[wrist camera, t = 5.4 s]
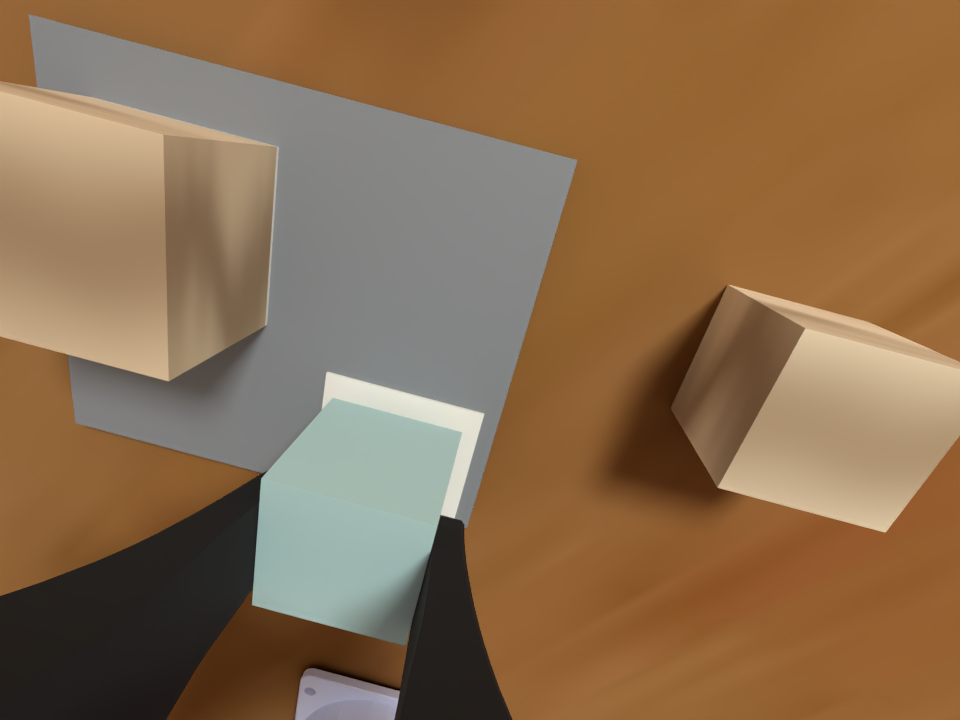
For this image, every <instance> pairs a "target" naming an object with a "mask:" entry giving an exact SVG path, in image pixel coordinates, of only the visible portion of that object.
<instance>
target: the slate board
mask: <svg viewBox="0 0 960 720" xmlns="http://www.w3.org/2000/svg"><path fill="white" fill-rule="evenodd" d="M29 20H30V28H31V37H32V46H33V55H34V64H35V72H36V81H37V88H42V89H47V90H53V91H59V92H65V93H70V94H76V95H82V96H88V97H92V98H96V99H99V100H103V101H107V102H111V103H114V104H118V105H122V106H126V107H129V108H133V109H137V110H141V111H144V112H148V113H152V114H156V115H159V116H163V117H167V118H171V119H174V120H178V121H182V122H186V123H189V124H193V125H197V126H201V127H205V128H208V129H212V130H216V131H220V132H223V133H227V134H231V135H235V136H238V137H242V138H246V139H250V140H253V141H257V142H261V143H265V144H268V145H272V146H276V147H277V154H276V169H275V185H274V200H273V215H272V230H271V245H270V261H269V276H268V291H267V306H266V321H265V326H264V327H263V328H261V329H259V330H257V331H256V332H254V333H252V334H250V335H249V336H247V337H245V338H243V339H242V340H240V341H238V342H237V343H235V344H233V345H231V346H230V347H228V348H226V349H224V350H223V351H221V352H219V353H217V354H216V355H214V356H212V357H210V358H209V359H207V360H205V361H203V362H202V363H200V364H198V365H196V366H195V367H193V368H191V369H189V370H188V371H186V372H184V373H182V374H181V375H179V376H177V377H176V378H174V379H172V380H170V381H165V380H162V379H158V378H154V377H150V376H147V375H143V374H139V373H135V372H132V371H128V370H124V369H120V368H117V367H113V366H109V365H106V364H102V363H98V362H94V361H91V360H87V359H83V358H79V357H76V356H72V355H68V362H69V370H70V379H71V388H72V397H73V406H74V414H75V423H77V424H81V425H84V426H88V427H92V428H95V429H99V430H103V431H107V432H110V433H114V434H118V435H122V436H125V437H129V438H133V439H137V440H140V441H144V442H148V443H151V444H155V445H159V446H163V447H166V448H170V449H174V450H178V451H181V452H185V453H189V454H193V455H196V456H200V457H204V458H208V459H211V460H215V461H219V462H222V463H226V464H230V465H234V466H237V467H241V468H245V469H249V470H252V471H256V472H260V473H264V472H266V471H267V470H269V469H270V468H271V467H272V466H273V465H274V464H275V462H276V461H277V460H278V459H279V458H280V457H281V456H282V455H283V453H284V452H285V451H286V450H287V449H288V448H289V447H290V445H291V444H292V443H293V442H294V441H295V440H296V439H297V438H298V436H299V435H300V434H301V433H302V432H303V431H304V430H305V429H306V427H307V426H308V425H309V424H310V423H311V422H312V421H313V420H314V418H315V417H316V416H317V415H318V414H319V413H320V412H321V411H322V409H323V408H324V407H325V406H326V405H327V404H328V403H329V401H330V400H331V399H332V398H336V399H340V400H343V401H347V402H351V403H355V404H358V405H362V406H366V407H370V408H373V409H377V410H381V411H385V412H388V413H392V414H396V415H399V416H403V417H407V418H411V419H414V420H418V421H422V422H426V423H429V424H433V425H437V426H441V427H444V428H448V429H452V430H456V431H459V432H462V435H461V439H460V443H459V447H458V450H457V454H456V458H455V462H454V466H453V469H452V473H451V477H450V481H449V485H448V488H447V492H446V496H445V500H444V503H443V507H442V511H441V515H443V516H447V517H451V518H454V519H458V520H462V522H463V523H464V525H465V526H464V527H465V528H467V526H468V523H469V519H470V516H471V513H472V509H473V506H474V503H475V499H476V496H477V493H478V489H479V486H480V483H481V479H482V476H483V473H484V469H485V466H486V463H487V459H488V456H489V453H490V449H491V446H492V443H493V439H494V436H495V433H496V429H497V426H498V423H499V420H500V416H501V413H502V410H503V406H504V403H505V400H506V396H507V393H508V390H509V386H510V383H511V380H512V376H513V373H514V370H515V366H516V363H517V360H518V356H519V353H520V350H521V346H522V343H523V340H524V336H525V333H526V330H527V326H528V323H529V320H530V316H531V313H532V310H533V306H534V303H535V300H536V297H537V293H538V290H539V287H540V283H541V280H542V277H543V273H544V270H545V267H546V263H547V260H548V257H549V253H550V250H551V247H552V243H553V240H554V237H555V233H556V230H557V227H558V223H559V220H560V217H561V213H562V210H563V207H564V203H565V200H566V197H567V193H568V190H569V187H570V184H571V180H572V177H573V174H574V170H575V167H576V164H577V160H574V159H571V158H567V157H563V156H559V155H556V154H552V153H548V152H544V151H541V150H537V149H533V148H529V147H526V146H522V145H518V144H514V143H511V142H507V141H503V140H499V139H496V138H492V137H488V136H484V135H481V134H477V133H473V132H469V131H466V130H462V129H458V128H454V127H451V126H447V125H443V124H439V123H435V122H432V121H428V120H424V119H420V118H417V117H413V116H409V115H405V114H402V113H398V112H394V111H390V110H387V109H383V108H379V107H375V106H372V105H368V104H364V103H360V102H357V101H353V100H349V99H345V98H342V97H338V96H334V95H330V94H327V93H323V92H319V91H315V90H311V89H308V88H304V87H300V86H296V85H293V84H289V83H285V82H281V81H278V80H274V79H270V78H266V77H263V76H259V75H255V74H251V73H248V72H244V71H240V70H236V69H233V68H229V67H225V66H221V65H218V64H214V63H210V62H206V61H203V60H199V59H195V58H191V57H188V56H184V55H180V54H176V53H172V52H169V51H165V50H161V49H157V48H154V47H150V46H146V45H142V44H139V43H135V42H131V41H127V40H124V39H120V38H116V37H112V36H109V35H105V34H101V33H97V32H94V31H90V30H86V29H82V28H79V27H75V26H71V25H67V24H64V23H60V22H56V21H52V20H48V19H45V18H41V17H37V16H33V15H30V14H29Z"/></svg>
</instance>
